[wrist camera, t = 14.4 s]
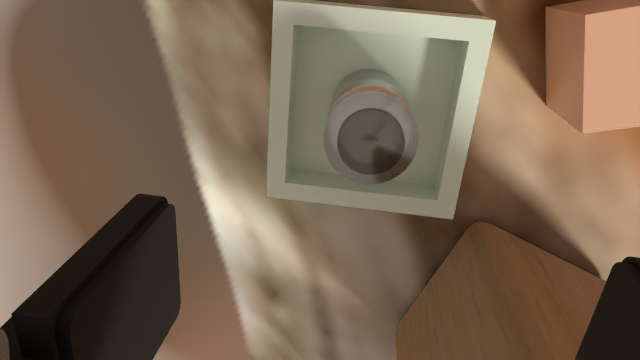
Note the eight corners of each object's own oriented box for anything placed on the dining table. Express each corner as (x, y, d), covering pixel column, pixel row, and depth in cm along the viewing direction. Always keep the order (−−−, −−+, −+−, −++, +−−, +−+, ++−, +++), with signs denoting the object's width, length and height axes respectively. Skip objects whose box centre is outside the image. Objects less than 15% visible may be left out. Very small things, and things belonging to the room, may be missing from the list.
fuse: (332, 67, 25) (323, 93, 19) (409, 70, 25) (424, 97, 19) (329, 140, 27) (321, 185, 21) (402, 143, 26) (414, 190, 21)
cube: (545, 6, 24) (585, 15, 19) (656, -13, 23) (726, -10, 18) (545, 105, 26) (582, 133, 21) (648, 90, 25) (710, 116, 20)
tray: (283, -3, 25) (273, 0, 22) (484, 15, 24) (496, 20, 22) (274, 178, 29) (266, 197, 26) (446, 198, 28) (453, 219, 26)
